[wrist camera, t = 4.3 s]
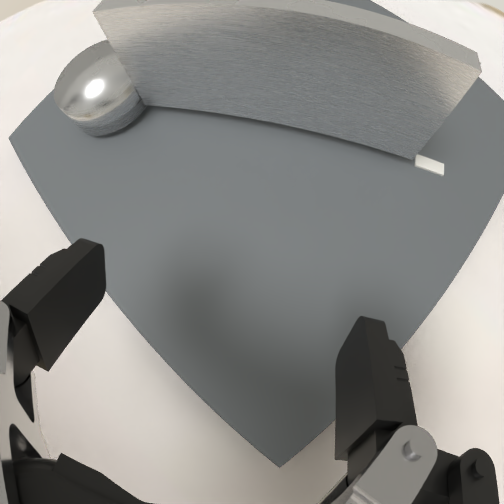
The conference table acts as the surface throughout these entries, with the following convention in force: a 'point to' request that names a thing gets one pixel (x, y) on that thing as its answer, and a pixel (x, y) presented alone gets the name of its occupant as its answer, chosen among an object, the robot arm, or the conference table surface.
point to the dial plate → (268, 241)
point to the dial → (269, 69)
